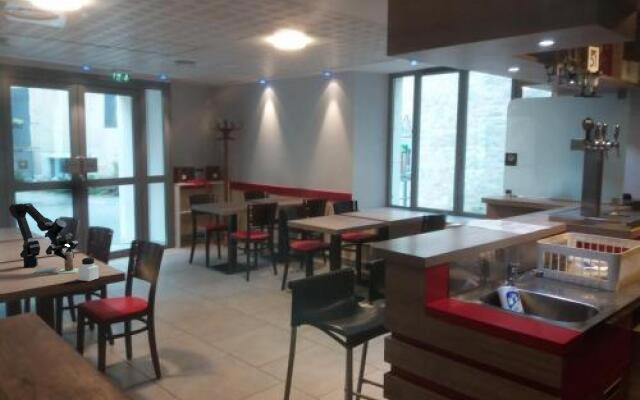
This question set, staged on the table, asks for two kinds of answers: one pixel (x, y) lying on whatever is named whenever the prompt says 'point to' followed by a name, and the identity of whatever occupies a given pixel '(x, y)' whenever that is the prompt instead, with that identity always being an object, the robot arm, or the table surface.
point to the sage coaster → (68, 271)
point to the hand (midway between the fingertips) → (70, 258)
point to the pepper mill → (69, 261)
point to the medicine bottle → (88, 270)
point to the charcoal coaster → (45, 270)
